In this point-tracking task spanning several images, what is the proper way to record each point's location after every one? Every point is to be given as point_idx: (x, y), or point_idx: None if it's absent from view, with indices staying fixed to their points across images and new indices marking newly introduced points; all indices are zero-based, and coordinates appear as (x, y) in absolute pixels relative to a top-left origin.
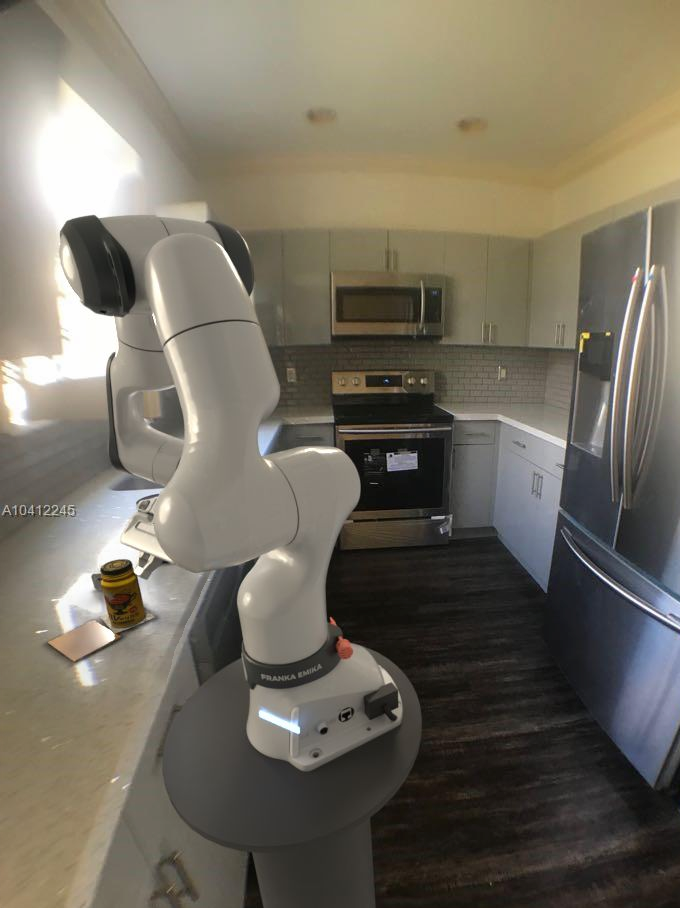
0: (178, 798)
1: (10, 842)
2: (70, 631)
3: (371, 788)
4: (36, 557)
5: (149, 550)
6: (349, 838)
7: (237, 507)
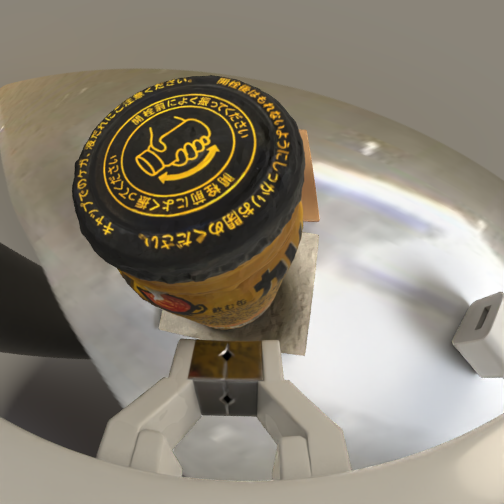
0: None
1: (42, 77)
2: (310, 167)
3: None
4: None
5: (129, 495)
6: None
7: None
